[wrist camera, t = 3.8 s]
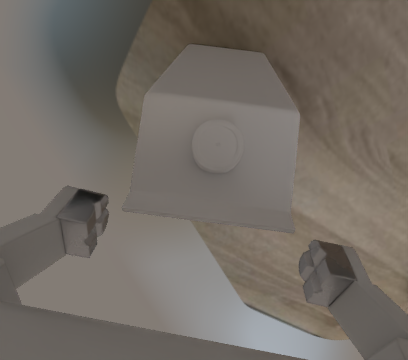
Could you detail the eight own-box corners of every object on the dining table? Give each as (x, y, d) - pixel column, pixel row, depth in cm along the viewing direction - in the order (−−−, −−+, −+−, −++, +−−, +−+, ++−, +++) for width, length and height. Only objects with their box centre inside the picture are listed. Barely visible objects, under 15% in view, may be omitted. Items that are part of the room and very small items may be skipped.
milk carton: (249, 124, 28) (272, 282, 12) (184, 116, 28) (127, 262, 13) (264, 52, 24) (329, 156, 8) (188, 42, 24) (111, 128, 8)
